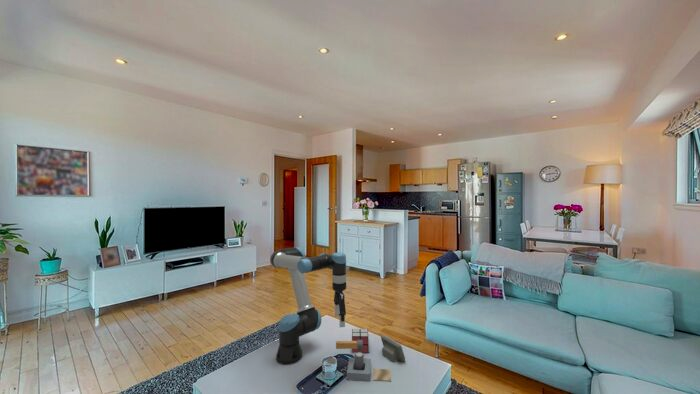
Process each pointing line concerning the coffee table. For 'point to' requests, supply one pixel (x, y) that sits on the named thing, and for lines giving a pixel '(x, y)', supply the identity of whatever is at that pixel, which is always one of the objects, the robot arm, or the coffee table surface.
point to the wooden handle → (349, 344)
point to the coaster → (381, 375)
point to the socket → (359, 374)
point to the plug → (359, 361)
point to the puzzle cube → (361, 335)
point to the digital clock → (392, 349)
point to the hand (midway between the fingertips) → (339, 321)
